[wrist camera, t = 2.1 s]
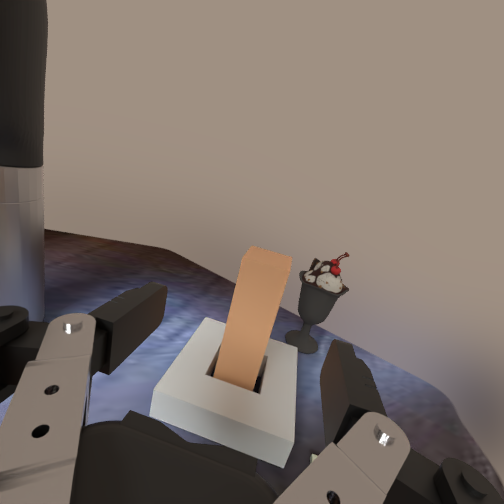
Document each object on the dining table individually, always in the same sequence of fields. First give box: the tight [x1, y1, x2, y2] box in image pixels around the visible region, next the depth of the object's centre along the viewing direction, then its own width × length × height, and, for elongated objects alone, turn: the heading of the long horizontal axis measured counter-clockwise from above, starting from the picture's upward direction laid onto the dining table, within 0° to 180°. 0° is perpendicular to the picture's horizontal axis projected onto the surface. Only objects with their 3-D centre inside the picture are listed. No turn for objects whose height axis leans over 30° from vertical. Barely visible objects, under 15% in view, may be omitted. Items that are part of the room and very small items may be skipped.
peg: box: [213, 246, 292, 392], centre depth 25 cm, size 4×4×15 cm
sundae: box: [285, 252, 349, 354], centre depth 35 cm, size 7×7×15 cm
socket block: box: [149, 317, 298, 468], centre depth 27 cm, size 12×12×3 cm
